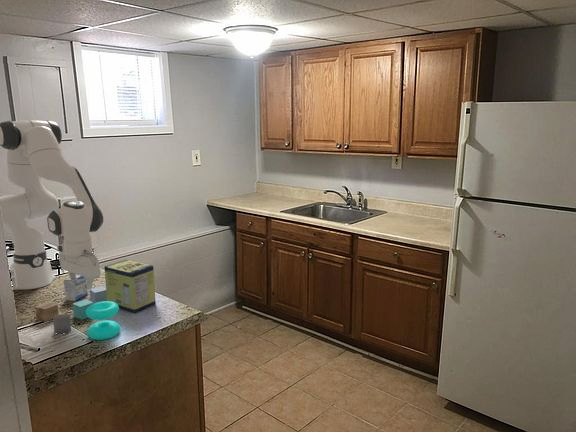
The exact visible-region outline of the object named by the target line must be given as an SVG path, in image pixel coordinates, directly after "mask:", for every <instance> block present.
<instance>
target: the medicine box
mask: <svg viewBox="0 0 576 432" xmlns="http://www.w3.org/2000/svg"><path fill="white" fill-rule="evenodd" d="M75 275H76V278H77V279H78V280H77V281H78V282H77V283H75V284H73V283H71V279H70V277H69V276H68V277H67V278H65V279H63V285H64V286H63V287H64V297H65V301H69V302H70V301H71V302H78V301H79V300H80V299H82V298H83V297H85V296H86V295H88V292H89V291H88V289H86V288H85V284H86V283H87V280H86V278H85V277H82V276H80V275H77V274H75Z"/></svg>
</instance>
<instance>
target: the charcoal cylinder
mask: <svg viewBox="0 0 576 432" xmlns="http://www.w3.org/2000/svg"><path fill="white" fill-rule="evenodd" d="M52 322H53V331H54V332H55V333H57V334H62V335H64V334H63V333H66V334H68V333H67V332H69V331H70V332H71V331H72V327H71V325H72V324H71V316H70V314H68V313H67V314H66V313H62V314H58V315H57V316H55V317H54V318H53V320H52ZM54 332H53V333H54ZM70 332H69V333H70ZM55 333H54V334H55ZM57 334H56V335H57Z"/></svg>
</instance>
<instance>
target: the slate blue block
mask: <svg viewBox="0 0 576 432" xmlns="http://www.w3.org/2000/svg"><path fill="white" fill-rule="evenodd" d="M89 299H90V300H89V301H91V302H93V304H94V303H97V302H103V301H107V293H106V287H105V286H97V287H94V288H93V287H92V289H89Z"/></svg>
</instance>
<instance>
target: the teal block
mask: <svg viewBox="0 0 576 432" xmlns="http://www.w3.org/2000/svg"><path fill="white" fill-rule="evenodd" d="M92 304H93V302H91V301H90V300H88V299H82V300H78V301H75V302H74V303H72V313H73V317H74V318H76V319H79V320H81V321H83V320H85V319H89V317H88V316H87V315H86V309H87V308H88V307H89V306H90V305H92Z"/></svg>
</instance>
